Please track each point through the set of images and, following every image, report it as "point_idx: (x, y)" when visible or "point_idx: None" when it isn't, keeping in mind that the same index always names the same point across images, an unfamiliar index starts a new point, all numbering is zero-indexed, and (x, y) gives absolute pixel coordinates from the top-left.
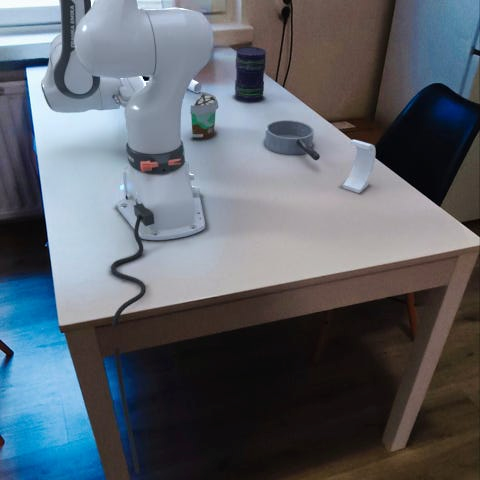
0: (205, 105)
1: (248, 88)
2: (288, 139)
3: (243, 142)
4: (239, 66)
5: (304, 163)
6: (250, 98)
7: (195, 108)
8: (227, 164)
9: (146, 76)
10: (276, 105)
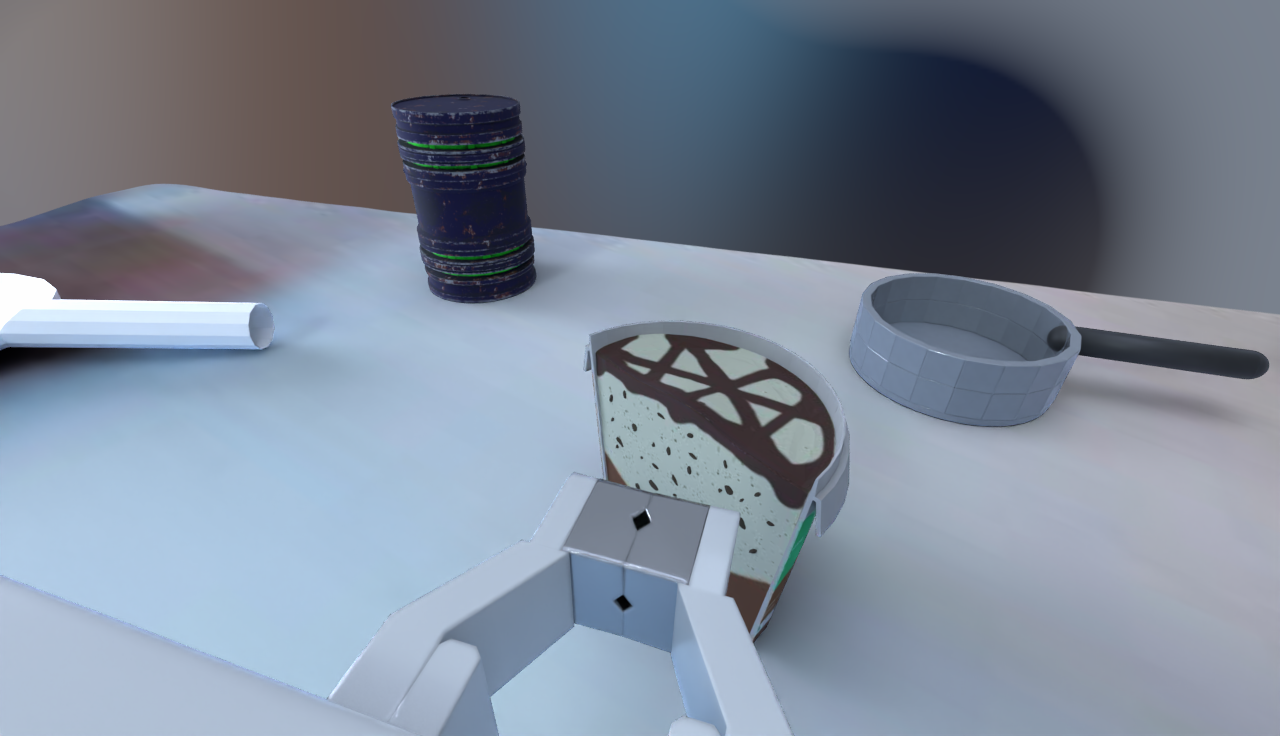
0: (842, 411)
1: (510, 245)
2: (1078, 352)
3: (881, 461)
4: (453, 171)
5: (1145, 407)
6: (519, 278)
7: (840, 477)
8: (1212, 673)
9: None
10: (600, 267)
